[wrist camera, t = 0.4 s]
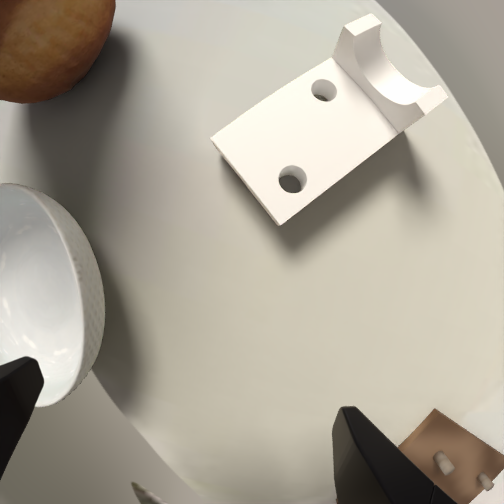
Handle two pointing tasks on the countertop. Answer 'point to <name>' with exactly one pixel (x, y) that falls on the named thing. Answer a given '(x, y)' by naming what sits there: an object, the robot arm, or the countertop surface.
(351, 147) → the bracket
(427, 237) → the countertop surface
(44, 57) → the butternut squash
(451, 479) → the post board
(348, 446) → the robot arm
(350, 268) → the countertop surface
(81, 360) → the cereal bowl
